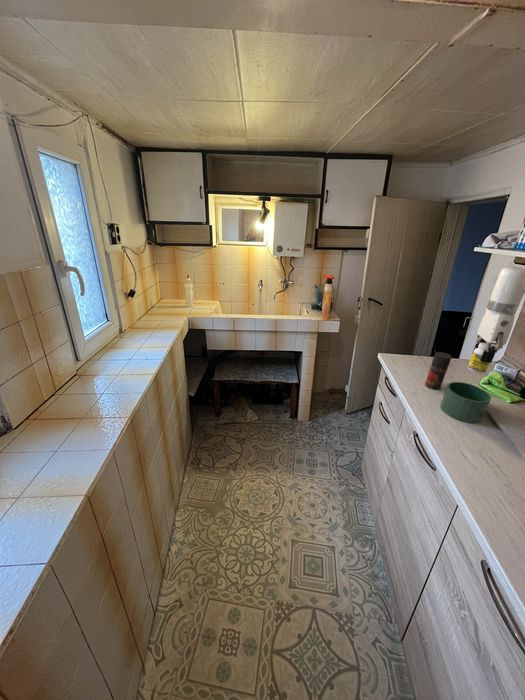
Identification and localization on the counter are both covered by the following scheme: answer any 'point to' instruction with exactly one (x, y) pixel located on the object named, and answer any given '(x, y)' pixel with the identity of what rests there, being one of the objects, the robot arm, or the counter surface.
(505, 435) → the counter surface
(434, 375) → the deodorant
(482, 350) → the supplement bottle
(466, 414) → the crock
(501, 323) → the robot arm
